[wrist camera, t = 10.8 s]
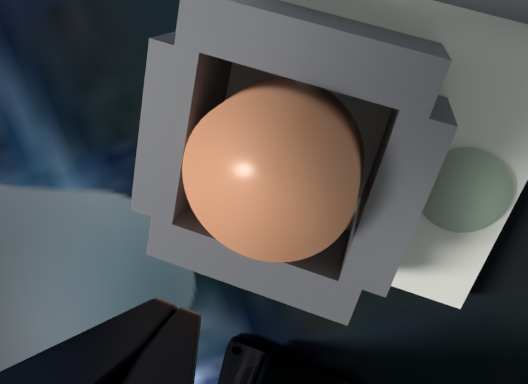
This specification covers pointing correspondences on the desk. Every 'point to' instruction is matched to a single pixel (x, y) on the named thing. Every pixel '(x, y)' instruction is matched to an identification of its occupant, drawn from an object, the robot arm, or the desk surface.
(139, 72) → the desk surface
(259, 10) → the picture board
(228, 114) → the peach rounded disc
